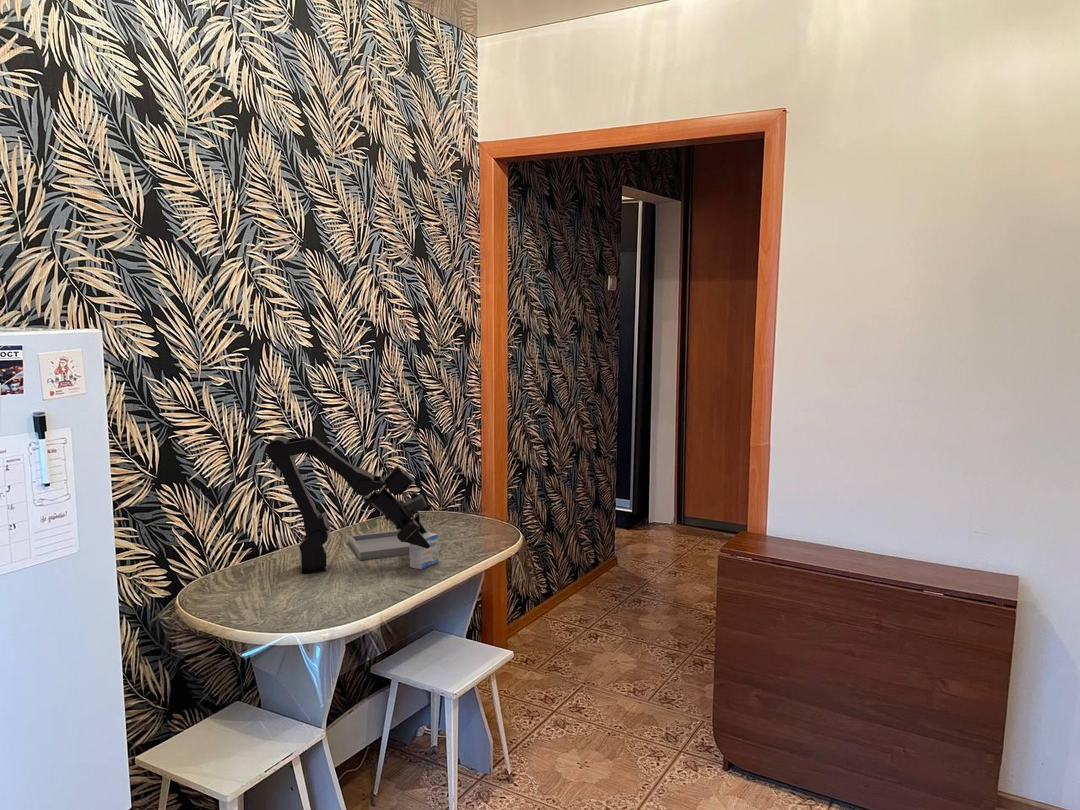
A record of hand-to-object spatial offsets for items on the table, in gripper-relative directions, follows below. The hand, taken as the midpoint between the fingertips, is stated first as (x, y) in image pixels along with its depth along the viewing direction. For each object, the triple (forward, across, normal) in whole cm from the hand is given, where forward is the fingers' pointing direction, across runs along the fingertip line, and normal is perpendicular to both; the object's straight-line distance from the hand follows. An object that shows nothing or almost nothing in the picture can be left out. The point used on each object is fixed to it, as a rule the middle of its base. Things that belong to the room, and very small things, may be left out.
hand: (428, 542), depth 218 cm
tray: (-4, +18, +13) cm, 22 cm away
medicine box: (+4, 0, +6) cm, 7 cm away
